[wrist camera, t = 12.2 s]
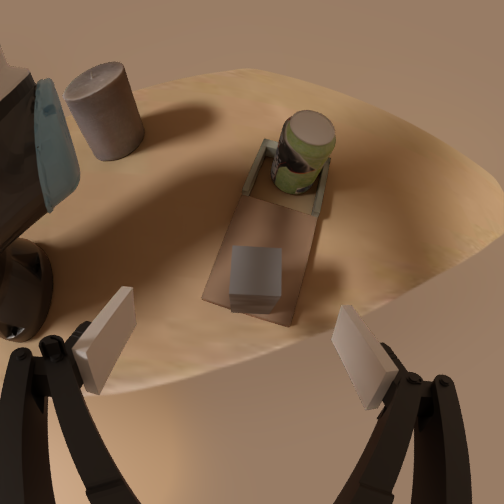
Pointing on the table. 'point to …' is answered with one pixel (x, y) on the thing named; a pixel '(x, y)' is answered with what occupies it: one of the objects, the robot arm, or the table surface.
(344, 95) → the table surface
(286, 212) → the pull strip
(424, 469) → the robot arm
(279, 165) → the beverage can
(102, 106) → the pillar candle
